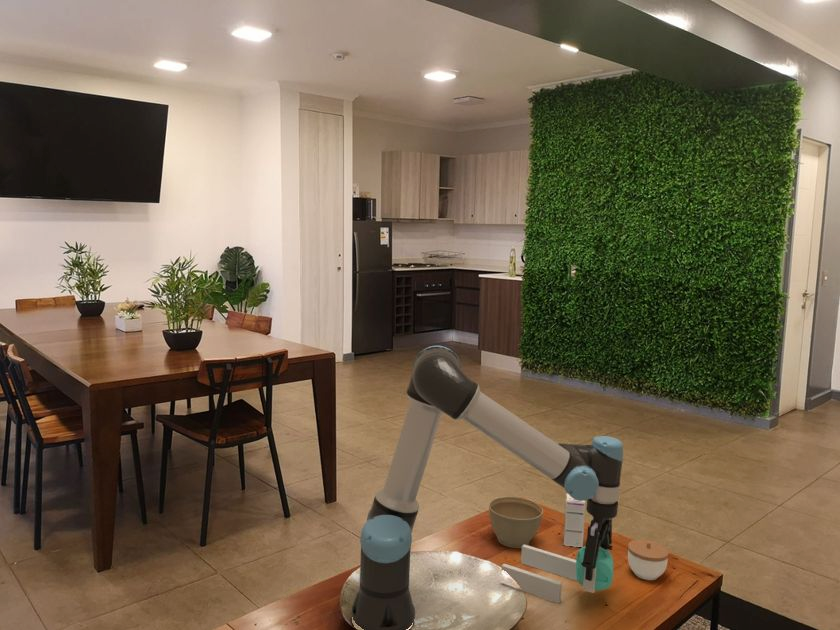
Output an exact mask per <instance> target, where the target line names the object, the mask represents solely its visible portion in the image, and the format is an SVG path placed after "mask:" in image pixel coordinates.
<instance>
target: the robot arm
mask: <svg viewBox="0 0 840 630" xmlns="http://www.w3.org/2000/svg"><path fill="white" fill-rule="evenodd" d="M405 394H406V396H407V398H408V400H409V403H408V404H409V405H408V406H407V411H406V413H405V415H404V417H405V418H404V420H403V424H402V427H401V430H400V432H399V437H398V438H397V439H398V440H397V442H396V447H395V450H394V453H393V456H392V459H391V463H390V466H389V469H388V473H387V476H386V480H385V483H384V486H383V488H381V489H379V490H377V491H376V492H375V496H374V499H373V501H372V505H371V508H370V510H369V511H368V513H367V517H366V522H365V523H364V525H363V527H362V529H361V534H360V539H359V543H360V561H359V562H360V567H359V587H358V591H357V594H356V597H355V599H354V601H353V605H352V606H351V611H350V613H351V614H350V616H351V615H352V617H353V620H354V621H355V623H356V624H357V625H358V626H360V627H361V628H362V629H364V630H406V629H408V628H409V627H410V626H411V625H412V623H413V622H414V619H415V620H416V609H415V605H414V604H413V599H412V596H411V591H410V570H411V567H410V566H411V551H412V550H411V549H412V548H411V547H412V540H413V538H412V536H413V535H412V533H413V530H414V526H415V523H416V519H417V516H418V514H419V510H420V504H419V502H418V500H417V496H418V492H419V490H420V486H421V483H422V480H423V478H424V477H423V476H424V474H425V469H426V467H427V464H428V461H429V459H430V458H429V457H430V454H431V451H432V447H433V444H434V442H435V439H436V435H437V432H438V429H439V426H440V421H441V419H442V416H443V413H444V414H446V415H447V416H449V417H450V418H452V419H453V420H455V421H459V420H463V421H464V422H465V423H467V424H469V425H470V426H472V427H473V428H474V429H476V430H478V431H479V432H480V433H482V434H483V435H485V436H487V438H489V439H491V440H492V441H494V442H496V443H497V444H498V445H500V446H501V447H503V448H504V449H506V450H508V452H511V453H512V454H513V455H515V456H516V457H518V458H519V459H520V460H522V461H524V462H525V463H527V464H528V465H529V466H531V467H533V468H534V469H536V470H537V471H539V472H540V473H541V474H543V475H545V476H546V477H548V478H549V479H550V480H552V481H553V482H555V483H556V484H558V485H559V486H561V487H562V488H564V490H565V492H566V494H569V495H570V496H571V497H572V498H574V499H576V500H579V501H585V502H586V506H585V511H586V512H587V513H588V514H589V515H591V517H592V519H591V520H590V525H588V527H587V533H586V534H587V536H586V541H585V545H584V546H585V552H584V558H583V562H582V563H581V565H582V566H583V567H585V570H584V580H583V586H582V590H583V591H585V592H589V593H593V594H594V593H595V590H594V589H595V579H596V568H597V567H596V561H597V557H598V552H599V548H600V547H601V548H604V549H606V550H607V551H613V548H614V547H613V546H612V544H613V539H612V538H613V519H614V518H616V517H617V516H618V511H619V502H618V501H619V500H620V490H621V475H622V469H623V467H622V466H623V461H624V445H623V443H622V441H621V440H620V439H618V438H615V437H613V436H608V435H607V436H606V435H601V436H600V435H599V436H594V438H593V439H592V442H591V444H575V443H563V442H562V443H561V442H555V441H554V440H552V439H551V438H550V437H548V436H547V435H545V434H543V433H542V432H540V430H537V429H536V428H535V427H533V426H531V424H529V423H527V422H526V421H525V420H523V419H521V418H520V417H518V416H517V415H516V414H514V413H513V412H511V411H510V410H508V409H507V408H505V407H503V405H501V404H499V403H498V402H496V401H495V400H493V399H492V398H490V397H489V396H487V395H486V394H485V393H483V392H482V391H481V389H480V385H479V384H478V383H476V382H475V381H474V380H472V379H471V378H470V377H468V375H466V373H465V372H463V370H462V365H461V360H460V358H459V356H458V355H457V354H456V353H455V352H454V351H452V349H450V348H448V347H446V346H442V345H431V346H428V347H426V348H424V349H423V350H421V351H420V352H419V353H418V354H417V355H416V357H415V359H414V362H413V369H412V373H411V377H410V379H409V383H408V387H407V390H406V393H405Z"/></svg>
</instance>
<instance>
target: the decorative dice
mask: <svg viewBox="0 0 840 630" xmlns="http://www.w3.org/2000/svg"><path fill="white" fill-rule="evenodd" d="M585 546H586V545H583V547H582V548H578V549H577V553H576V559H575V560H576V577H577V580H576V581H577V583H578V584H579V585H580V586H582V587H583V580H584V570H585V567H583V566H582V565H581V563H582V562H583V558H584V552H585ZM607 550H608V549H607ZM607 550H606V549H604V548H601V547H600V548H599V552H598V557H597V561H596V567H597V568H596V579H595V589H594V591H604V590H606V589H608V588H610V587H611V586H612V583H613V579H614V559H613V556H612V554H611V552H610V550H608V551H607Z"/></svg>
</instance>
